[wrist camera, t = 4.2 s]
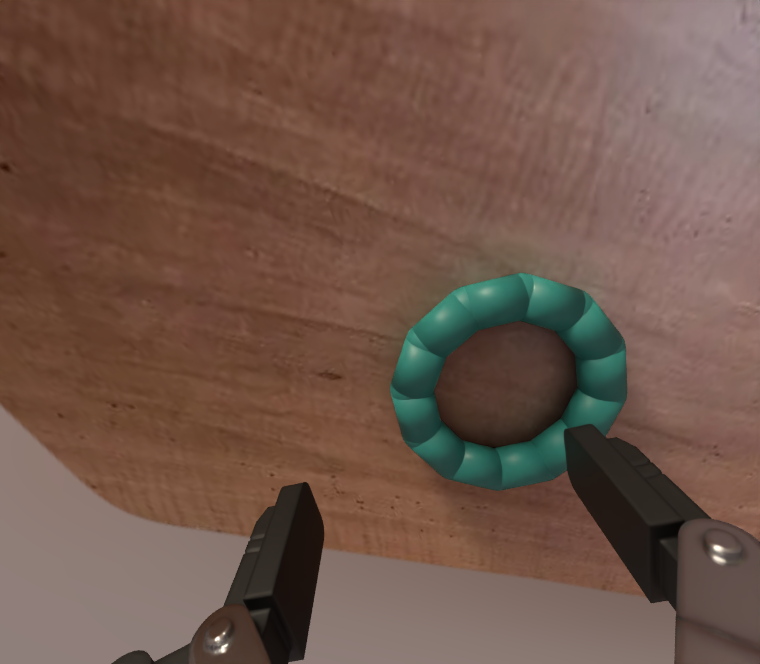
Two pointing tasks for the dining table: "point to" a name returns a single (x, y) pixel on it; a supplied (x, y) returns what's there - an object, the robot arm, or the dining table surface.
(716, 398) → the dining table surface
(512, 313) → the ring
